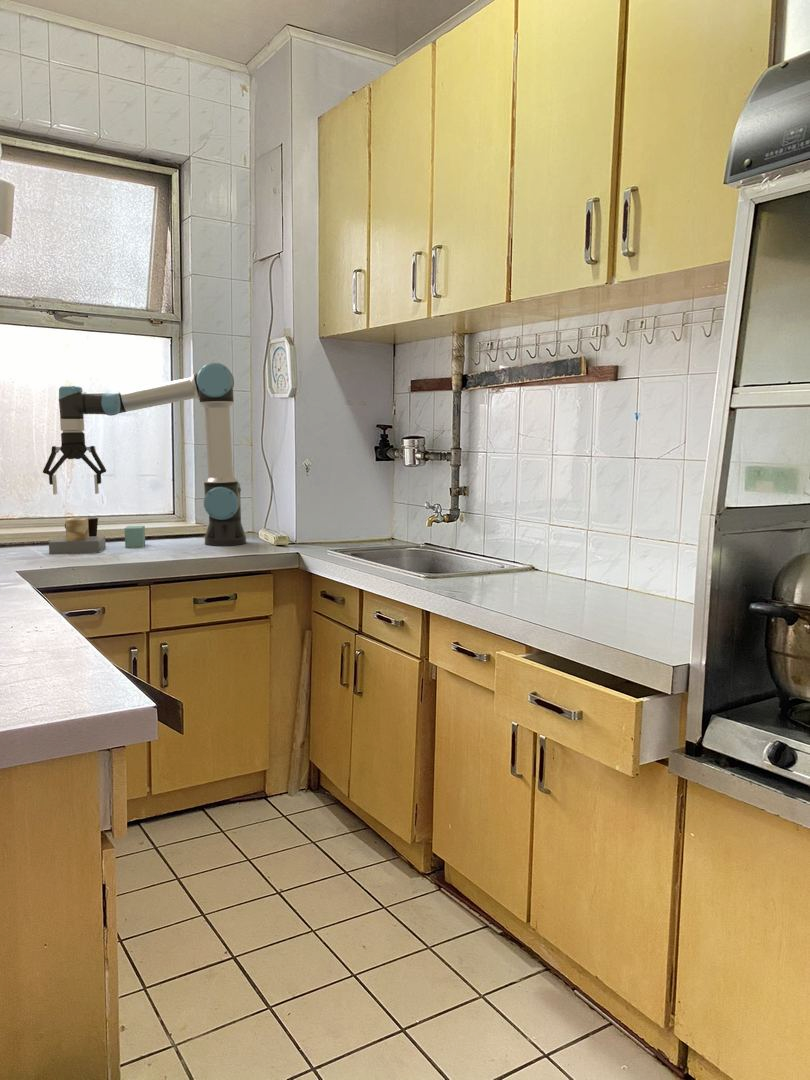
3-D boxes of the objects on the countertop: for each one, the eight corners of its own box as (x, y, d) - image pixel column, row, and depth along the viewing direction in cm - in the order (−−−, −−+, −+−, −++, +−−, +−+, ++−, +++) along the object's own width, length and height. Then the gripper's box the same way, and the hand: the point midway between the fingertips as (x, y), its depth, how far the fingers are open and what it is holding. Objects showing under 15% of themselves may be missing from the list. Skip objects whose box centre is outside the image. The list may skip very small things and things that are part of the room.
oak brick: (89, 537, 291) (88, 517, 290) (84, 540, 283) (83, 520, 282) (70, 537, 290) (70, 518, 289) (66, 540, 282) (65, 520, 281)
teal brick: (145, 544, 304) (144, 525, 303) (142, 547, 296) (142, 528, 295) (128, 544, 302) (127, 526, 302) (125, 547, 295) (124, 528, 294)
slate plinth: (105, 547, 295) (105, 536, 295) (99, 552, 282) (98, 541, 281) (58, 548, 292) (57, 537, 292) (49, 553, 279) (48, 542, 278)
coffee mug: (104, 544, 302) (103, 517, 300) (84, 547, 294) (82, 519, 293) (84, 542, 308) (82, 515, 307) (63, 545, 301) (62, 517, 299)
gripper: (112, 431, 288) (115, 492, 290) (36, 432, 283) (40, 493, 286) (109, 431, 280) (112, 493, 283) (31, 432, 276) (35, 495, 278)
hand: (76, 494), depth 284 cm, fingers open, 13 cm apart
